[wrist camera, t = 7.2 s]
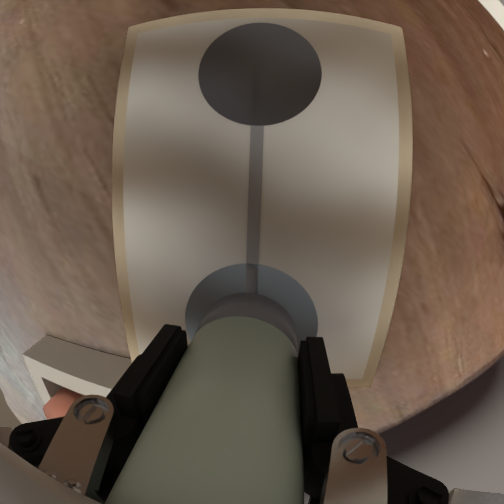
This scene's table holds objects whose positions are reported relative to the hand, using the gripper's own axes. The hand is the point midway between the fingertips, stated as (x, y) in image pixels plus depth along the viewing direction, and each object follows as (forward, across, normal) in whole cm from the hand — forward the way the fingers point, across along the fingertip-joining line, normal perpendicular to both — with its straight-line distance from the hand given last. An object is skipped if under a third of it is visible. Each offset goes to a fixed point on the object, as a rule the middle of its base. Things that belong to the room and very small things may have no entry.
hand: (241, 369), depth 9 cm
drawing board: (+4, 0, -6) cm, 7 cm away
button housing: (+4, +11, +8) cm, 14 cm away
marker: (+2, 0, 0) cm, 2 cm away
